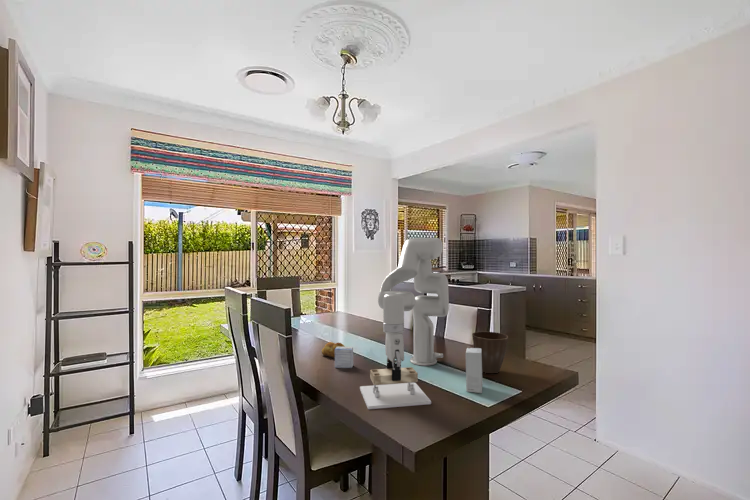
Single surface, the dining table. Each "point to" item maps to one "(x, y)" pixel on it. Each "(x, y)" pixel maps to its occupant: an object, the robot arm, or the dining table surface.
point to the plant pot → (491, 349)
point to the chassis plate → (393, 395)
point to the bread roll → (331, 349)
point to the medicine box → (343, 357)
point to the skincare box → (474, 370)
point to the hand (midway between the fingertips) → (393, 376)
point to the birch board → (386, 376)
